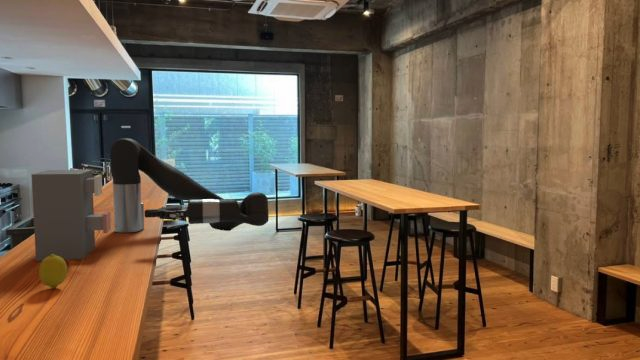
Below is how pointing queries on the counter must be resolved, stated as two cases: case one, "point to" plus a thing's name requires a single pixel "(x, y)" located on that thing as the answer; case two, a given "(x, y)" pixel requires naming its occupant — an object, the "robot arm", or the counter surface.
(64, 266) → the lemon
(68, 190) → the grey dispenser box
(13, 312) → the counter surface
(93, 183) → the upper plunger
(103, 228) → the lower plunger
